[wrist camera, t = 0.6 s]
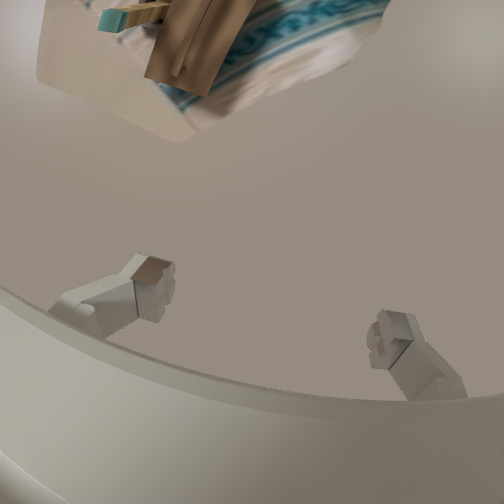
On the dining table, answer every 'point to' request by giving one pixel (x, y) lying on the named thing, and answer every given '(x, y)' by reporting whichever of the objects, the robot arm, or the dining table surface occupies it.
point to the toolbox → (195, 41)
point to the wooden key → (133, 15)
